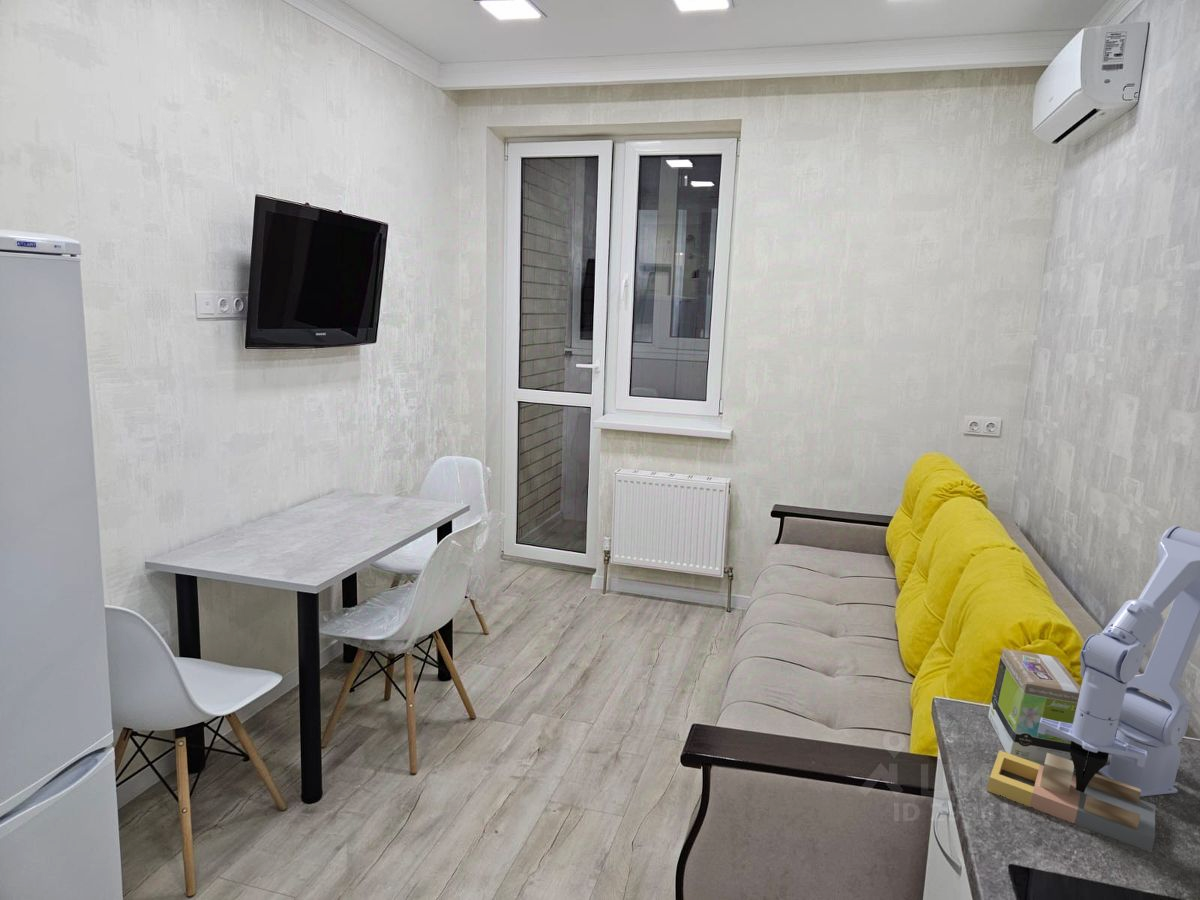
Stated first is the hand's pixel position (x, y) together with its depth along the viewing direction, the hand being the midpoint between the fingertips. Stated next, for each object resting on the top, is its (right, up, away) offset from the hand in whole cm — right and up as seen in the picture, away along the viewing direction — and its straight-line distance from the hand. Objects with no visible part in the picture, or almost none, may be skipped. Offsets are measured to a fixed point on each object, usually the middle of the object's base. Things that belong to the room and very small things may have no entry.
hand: (1080, 788), depth 129 cm
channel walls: (+4, -2, -2) cm, 4 cm away
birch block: (-3, 0, +2) cm, 4 cm away
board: (-1, -3, +1) cm, 4 cm away
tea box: (+1, 0, +19) cm, 19 cm away
